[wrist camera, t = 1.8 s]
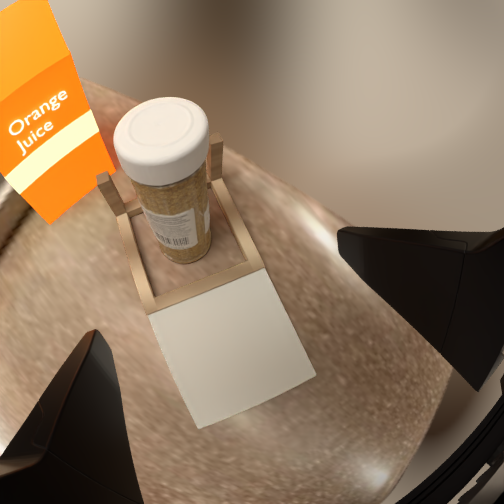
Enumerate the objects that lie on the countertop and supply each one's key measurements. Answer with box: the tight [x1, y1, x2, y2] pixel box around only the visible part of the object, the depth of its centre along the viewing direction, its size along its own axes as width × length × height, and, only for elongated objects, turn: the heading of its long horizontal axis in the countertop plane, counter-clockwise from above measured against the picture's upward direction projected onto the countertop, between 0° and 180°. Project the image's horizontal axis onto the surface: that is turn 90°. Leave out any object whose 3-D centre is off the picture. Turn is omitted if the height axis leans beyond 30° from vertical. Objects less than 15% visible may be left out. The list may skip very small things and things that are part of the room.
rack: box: [96, 133, 265, 315], centre depth 21 cm, size 10×10×6 cm
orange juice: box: [0, 0, 116, 224], centre depth 16 cm, size 8×9×20 cm
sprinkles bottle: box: [113, 97, 212, 264], centre depth 18 cm, size 5×5×13 cm
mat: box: [148, 268, 317, 429], centre depth 21 cm, size 10×10×1 cm
